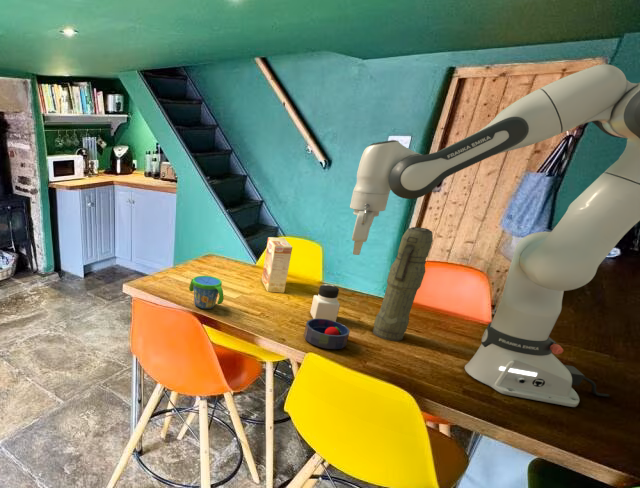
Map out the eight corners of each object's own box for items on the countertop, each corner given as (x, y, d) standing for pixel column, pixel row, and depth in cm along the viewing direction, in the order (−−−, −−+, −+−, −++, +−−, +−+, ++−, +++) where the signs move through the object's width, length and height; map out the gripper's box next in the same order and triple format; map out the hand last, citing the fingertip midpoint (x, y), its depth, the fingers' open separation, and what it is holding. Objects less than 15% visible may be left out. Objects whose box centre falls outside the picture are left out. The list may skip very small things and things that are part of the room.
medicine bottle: (335, 323, 139) (343, 290, 134) (314, 320, 140) (321, 289, 136) (330, 314, 146) (338, 283, 141) (309, 312, 147) (316, 281, 142)
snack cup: (229, 310, 147) (232, 284, 143) (206, 316, 142) (209, 289, 138) (202, 296, 159) (205, 272, 155) (180, 300, 155) (182, 275, 151)
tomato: (327, 342, 128) (340, 335, 127) (331, 343, 124) (344, 336, 123) (320, 330, 128) (332, 324, 128) (323, 331, 124) (336, 324, 124)
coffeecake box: (260, 279, 179) (267, 236, 172) (277, 280, 178) (284, 237, 171) (266, 291, 166) (274, 245, 158) (284, 293, 165) (293, 246, 157)
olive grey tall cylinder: (366, 335, 131) (397, 229, 117) (377, 324, 139) (408, 223, 125) (397, 345, 125) (434, 234, 111) (407, 333, 133) (442, 228, 119)
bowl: (347, 338, 128) (351, 324, 126) (343, 354, 119) (347, 340, 117) (307, 329, 134) (310, 315, 132) (300, 343, 125) (303, 329, 123)
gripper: (380, 208, 103) (367, 260, 108) (382, 199, 119) (370, 245, 124) (353, 206, 106) (341, 257, 111) (358, 197, 122) (348, 242, 127)
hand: (357, 250), depth 118 cm, fingers open, 8 cm apart
